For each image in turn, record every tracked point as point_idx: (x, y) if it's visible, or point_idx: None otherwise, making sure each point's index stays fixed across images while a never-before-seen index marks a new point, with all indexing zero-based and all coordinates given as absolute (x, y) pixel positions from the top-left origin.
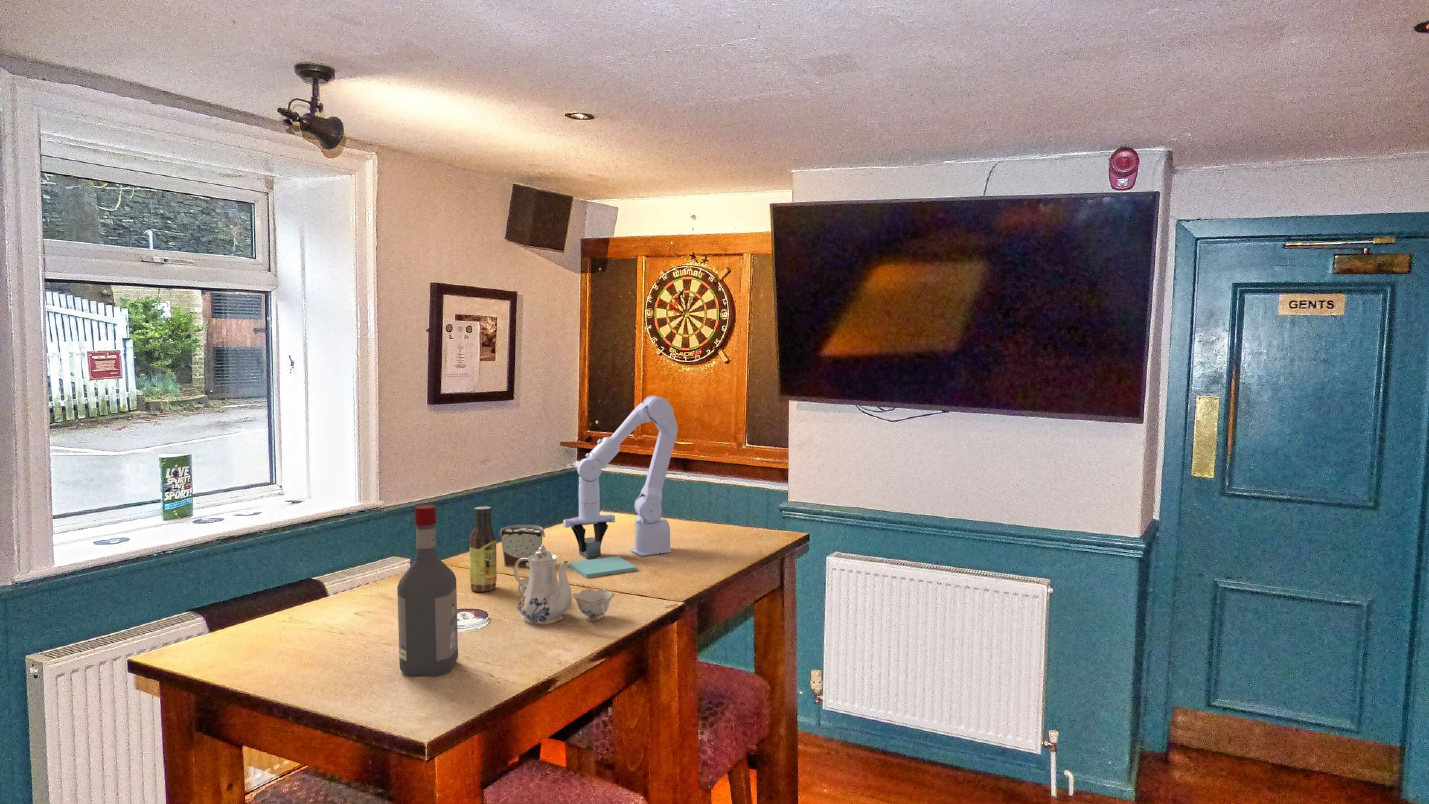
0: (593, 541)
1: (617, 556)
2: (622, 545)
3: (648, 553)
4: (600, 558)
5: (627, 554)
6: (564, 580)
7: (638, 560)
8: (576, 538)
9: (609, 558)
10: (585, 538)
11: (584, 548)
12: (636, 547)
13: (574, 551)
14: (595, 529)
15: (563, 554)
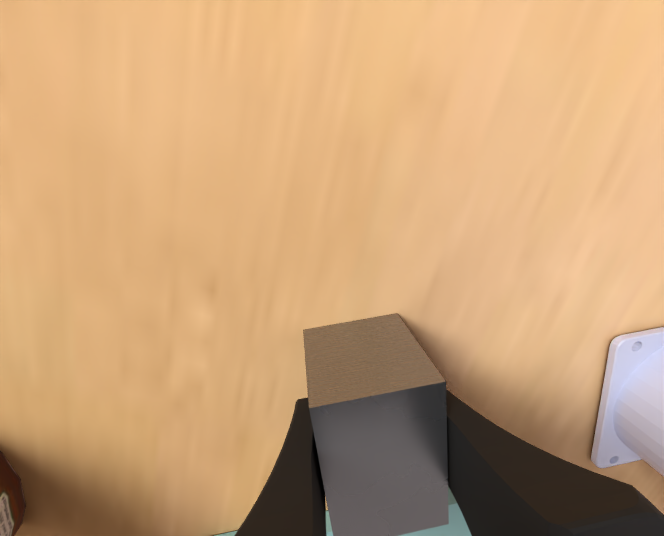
0: (399, 516)
1: None
2: (648, 182)
3: (635, 458)
4: None
5: (556, 401)
6: None
7: None
8: (271, 477)
9: (421, 530)
10: (369, 416)
11: None
12: (636, 425)
13: (290, 231)
14: (503, 519)
15: (196, 290)
